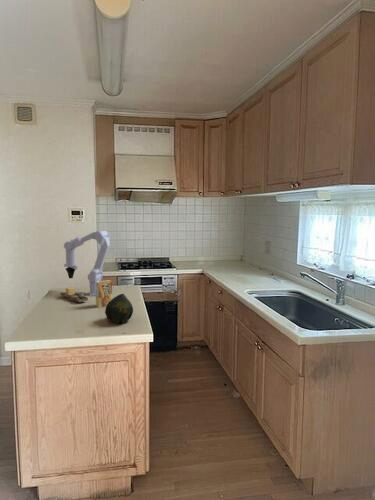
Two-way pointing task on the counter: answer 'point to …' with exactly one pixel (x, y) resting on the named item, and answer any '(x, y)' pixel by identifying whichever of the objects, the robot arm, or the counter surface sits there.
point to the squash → (119, 309)
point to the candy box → (103, 293)
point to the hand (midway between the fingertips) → (70, 278)
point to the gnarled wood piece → (75, 297)
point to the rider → (70, 291)
